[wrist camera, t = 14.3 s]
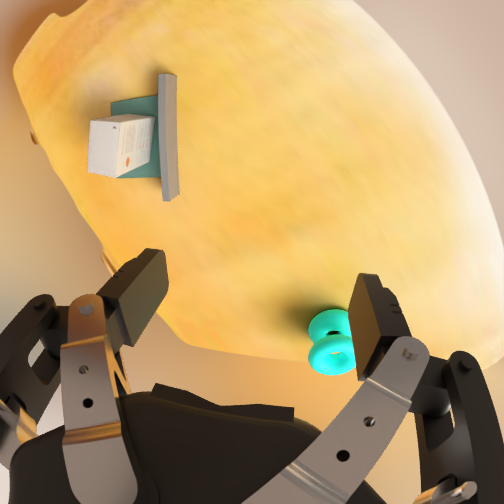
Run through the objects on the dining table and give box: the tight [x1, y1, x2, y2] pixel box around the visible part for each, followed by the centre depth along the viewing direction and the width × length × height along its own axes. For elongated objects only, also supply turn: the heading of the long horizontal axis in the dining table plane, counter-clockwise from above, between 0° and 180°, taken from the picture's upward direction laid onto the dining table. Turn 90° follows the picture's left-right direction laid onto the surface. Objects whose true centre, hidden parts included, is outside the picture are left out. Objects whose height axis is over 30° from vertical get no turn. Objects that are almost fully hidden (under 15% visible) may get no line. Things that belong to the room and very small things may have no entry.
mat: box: [111, 95, 161, 178], centre depth 41 cm, size 14×11×1 cm
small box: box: [87, 114, 156, 178], centre depth 36 cm, size 8×6×10 cm
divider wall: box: [158, 73, 179, 201], centre depth 38 cm, size 20×1×4 cm, turn 179°
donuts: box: [308, 309, 356, 375], centre depth 49 cm, size 10×10×10 cm
